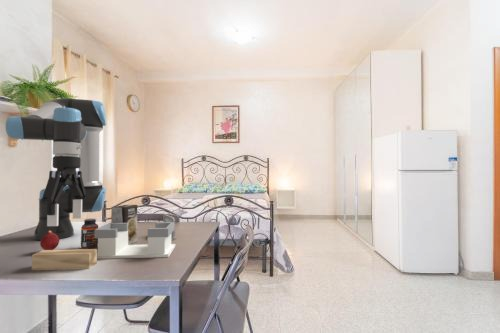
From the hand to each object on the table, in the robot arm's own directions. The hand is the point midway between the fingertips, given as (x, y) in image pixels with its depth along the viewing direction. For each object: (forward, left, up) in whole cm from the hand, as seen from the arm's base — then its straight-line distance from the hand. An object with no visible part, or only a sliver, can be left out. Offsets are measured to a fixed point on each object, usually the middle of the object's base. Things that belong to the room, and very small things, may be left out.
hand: (66, 222), depth 88 cm
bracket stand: (-14, +18, -14) cm, 27 cm away
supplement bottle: (-22, -3, -15) cm, 27 cm away
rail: (0, 0, -15) cm, 15 cm away
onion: (-17, -15, -15) cm, 27 cm away
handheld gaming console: (-35, +22, -15) cm, 44 cm away
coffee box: (-27, +9, -15) cm, 32 cm away
